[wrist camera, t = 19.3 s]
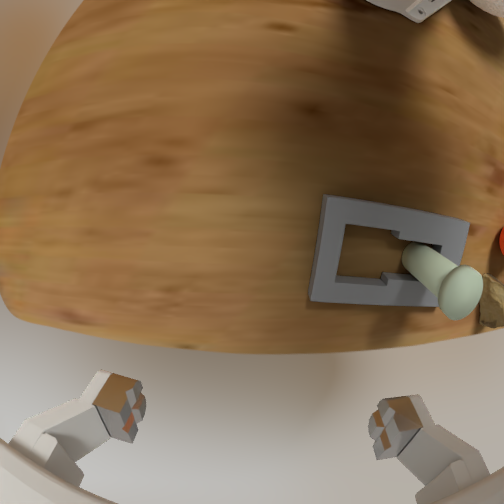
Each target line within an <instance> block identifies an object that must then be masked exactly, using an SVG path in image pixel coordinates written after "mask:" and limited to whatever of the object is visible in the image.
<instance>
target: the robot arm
mask: <svg viewBox="0 0 504 504" xmlns="http://www.w3.org/2000/svg"><path fill="white" fill-rule="evenodd" d="M366 1H368V2H370V3H372V4H374V5H377V6H379V7H382V8H385V9H388V10H392V11H395V12H398V13H401V14H402V15H404V16H406V17H407V18H409V19H411V20H412V21H414V22H417V23H421V22H422V21H424V20H425V19H426V18H428V17H429V16H430V15H432V14H433V13H435V12H436V11H437V10H439V9H440V8H442V7H443V6H445V5H446V4H447V3H449V2H450V1H452V0H366ZM142 388H143V387H142V384H141V381H138V380H134V379H131V378H128V377H124V376H121V375H118V374H114V373H111V372H108V371H105V370H100V371H98V372H97V373H96V375H95V376H94V378H93V379H92V380H91V382H90V383H89V385H88V387H87V388H86V389H85V391H84V392H83V394H82V395H81V397H80V398H79V399H76V398H75V399H73V400H70V401H68V402H66V403H63V404H61V405H59V406H57V407H54V408H52V409H50V410H47V411H45V412H42V413H40V414H38V415H35V416H33V417H30V418H28V419H26V420H25V421H24V422H23V423H22V425H21V426H20V428H19V429H18V431H17V432H16V433H15V435H14V437H13V438H12V440H11V441H10V442H9V444H7V443H6V442H5V441H4V440H2V439H1V438H0V504H117V503H114V502H112V501H109V500H107V499H104V498H102V497H100V496H97V495H95V494H93V493H90V492H88V491H86V490H84V489H82V488H80V487H79V486H80V483H81V481H82V479H83V477H84V474H83V472H82V470H81V469H80V468H79V467H78V466H77V465H76V463H75V462H76V461H77V460H79V459H80V458H82V457H84V456H85V455H86V454H88V453H90V452H91V451H93V450H94V449H95V448H97V447H99V446H100V445H101V444H103V443H104V442H106V441H107V440H109V439H110V437H112V438H116V439H119V440H122V441H125V442H129V443H133V441H134V439H135V436H136V434H137V432H138V428H137V423H138V422H140V421H142V420H143V417H144V415H145V410H146V399H145V396H144V395H143V394H142V393H141V391H142ZM377 407H378V410H377V411H376V412H374V413H373V414H372V416H371V418H370V419H369V425H368V428H369V434H370V437H371V438H372V439H374V440H375V443H374V445H373V448H374V452H375V455H376V459H377V460H380V459H387V458H393V457H397V459H398V460H399V461H400V462H401V463H402V464H403V465H404V466H405V467H406V468H408V469H409V470H410V471H411V472H412V473H413V474H414V475H415V476H416V477H417V478H418V479H419V480H420V481H421V482H422V483H423V484H424V485H425V487H424V488H422V489H421V490H420V491H419V492H417V494H416V495H415V498H416V501H417V504H504V467H502V468H501V469H499V470H497V471H496V472H494V473H492V474H491V475H490V473H489V471H488V469H487V467H486V465H485V462H484V460H483V458H482V456H481V454H480V452H479V451H478V450H477V449H475V448H474V447H472V446H471V445H469V444H467V443H466V442H464V441H463V440H461V439H460V438H458V437H457V436H455V435H453V434H452V433H451V432H449V431H448V430H446V429H444V428H443V427H441V426H440V425H435V423H434V421H433V420H432V417H431V415H430V414H429V411H428V409H427V407H426V406H425V404H424V402H423V400H422V398H421V396H420V395H418V394H417V395H410V396H401V397H394V398H385V399H382V400H381V401H380V402H379V404H378V405H377Z"/></svg>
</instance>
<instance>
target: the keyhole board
mask: <svg viewBox="0 0 504 504" xmlns="http://www.w3.org/2000/svg"><path fill="white" fill-rule="evenodd" d="M345 224H352V225H360V226H367V227H375V228H382V229H389V230H392V231H391V234H392V235H393V236H395V237H396V238H398V239H402V240H409V241H416V242H423V243H430V244H433V246H432V249H433V250H435V251H436V252H438V253H439V254H441V255H442V256H444V257H445V258H447V259H448V260H450V261H451V262H453V263H454V264H456V265H457V266H459V265H460V262H461V258H462V255H463V251H464V247H465V243H466V239H467V234H468V230H469V225H470V223H469V222H466V221H464V220H461V219H458V218H454V217H449V216H445V215H440V214H436V213H431V212H426V211H422V210H417V209H412V208H406V207H401V206H396V205H390V204H385V203H379V202H373V201H367V200H361V199H354V198H348V197H341V196H334V195H327V194H323V200H322V207H321V215H320V222H319V229H318V235H317V242H316V248H315V254H314V260H313V266H312V272H311V278H310V283H309V289H308V295H309V298H310V301H316V302H331V303H347V304H366V305H390V306H427V307H439V305H438V298H437V297H436V296H435V295H434V294H433V293H432V292H431V291H430V290H429V289H428V288H426V287H425V286H424V285H423V284H422V283H421V282H420V281H419V280H418V279H417V278H415V277H414V276H413V275H410V274H398V273H387V272H382V275H381V279H376V278H363V277H351V276H339V275H336V273H337V268H338V263H339V258H340V253H341V247H342V242H343V236H344V230H345Z"/></svg>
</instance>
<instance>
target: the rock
mask: <svg viewBox="0 0 504 504" xmlns="http://www.w3.org/2000/svg"><path fill="white" fill-rule="evenodd" d="M479 301H480V313H481V315H480V320H479V324H481V325H483V326H487V327H490V328H496V327H500V326H501V327H502V326H504V284H503V283H502V282H501V281H499V280H498V279H497V278H495V277H494V276H493V275H491V274H488V273H487V274H485V273H484V274H483V291H482V295H481V297H480V300H479Z"/></svg>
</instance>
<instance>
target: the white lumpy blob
mask: <svg viewBox="0 0 504 504" xmlns="http://www.w3.org/2000/svg"><path fill="white" fill-rule="evenodd" d="M470 2H472V3H473V4H474V5H475V6H477V7H479V8H481V9H482V10H483V11H486V12H487V13H490V14H492V15H495V16H498V17H503V18H504V0H470Z"/></svg>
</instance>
